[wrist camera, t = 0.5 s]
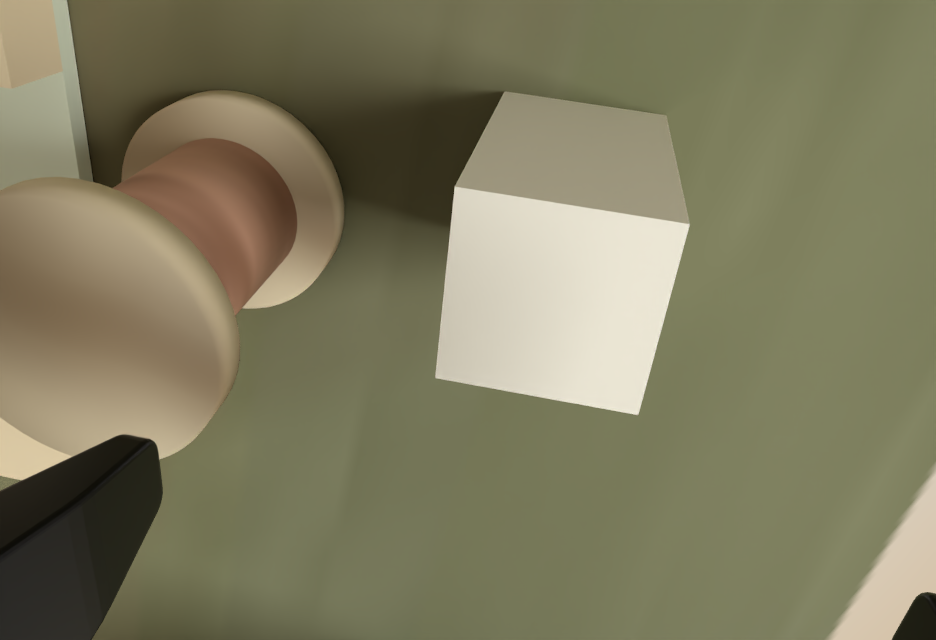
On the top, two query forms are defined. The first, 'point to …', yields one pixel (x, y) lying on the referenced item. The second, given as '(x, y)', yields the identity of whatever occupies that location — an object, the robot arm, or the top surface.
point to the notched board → (37, 144)
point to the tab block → (562, 253)
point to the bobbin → (157, 271)
